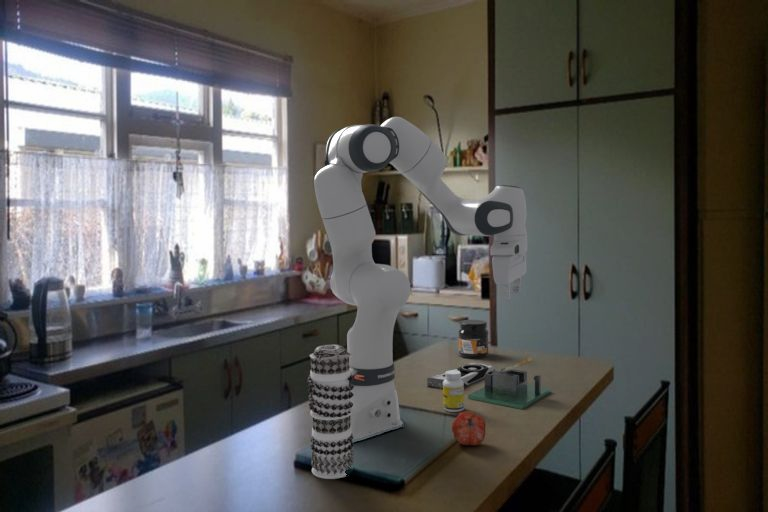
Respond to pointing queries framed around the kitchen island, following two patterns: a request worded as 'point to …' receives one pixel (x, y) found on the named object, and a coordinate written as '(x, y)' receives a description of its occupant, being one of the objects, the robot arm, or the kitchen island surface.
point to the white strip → (515, 365)
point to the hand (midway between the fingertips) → (511, 295)
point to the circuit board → (510, 389)
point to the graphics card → (464, 375)
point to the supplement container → (473, 339)
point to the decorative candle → (330, 411)
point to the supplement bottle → (453, 391)
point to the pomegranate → (469, 428)
